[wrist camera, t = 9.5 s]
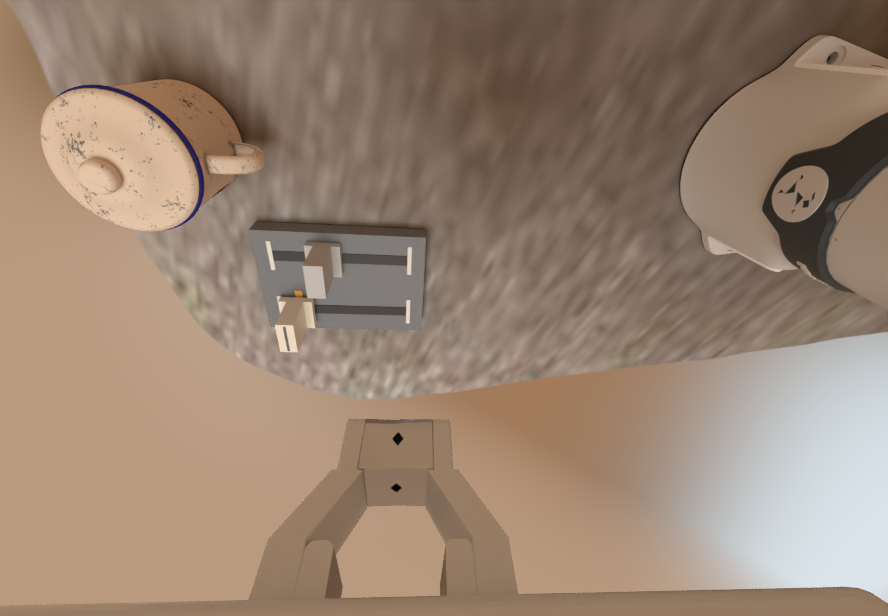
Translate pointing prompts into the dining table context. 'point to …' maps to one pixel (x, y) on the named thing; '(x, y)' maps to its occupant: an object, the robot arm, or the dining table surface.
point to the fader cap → (294, 322)
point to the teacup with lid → (144, 150)
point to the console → (343, 272)
